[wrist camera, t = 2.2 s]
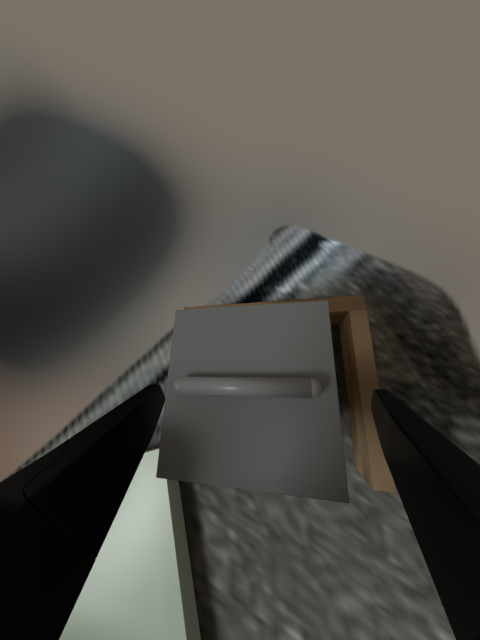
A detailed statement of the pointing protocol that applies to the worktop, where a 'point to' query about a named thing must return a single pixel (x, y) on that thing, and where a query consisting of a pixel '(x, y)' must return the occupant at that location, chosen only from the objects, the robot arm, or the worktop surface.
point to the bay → (354, 383)
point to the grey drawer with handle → (254, 401)
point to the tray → (140, 569)
